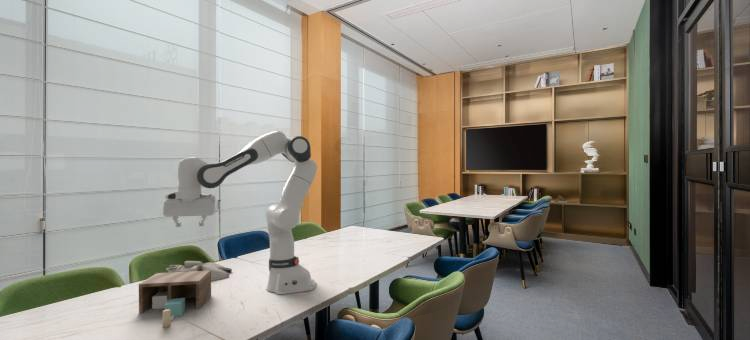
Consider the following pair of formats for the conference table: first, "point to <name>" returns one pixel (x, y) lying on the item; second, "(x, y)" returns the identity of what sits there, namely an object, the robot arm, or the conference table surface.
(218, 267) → the mask
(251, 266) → the conference table surface
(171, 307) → the tethered block
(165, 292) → the plain block
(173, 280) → the walnut shelf
